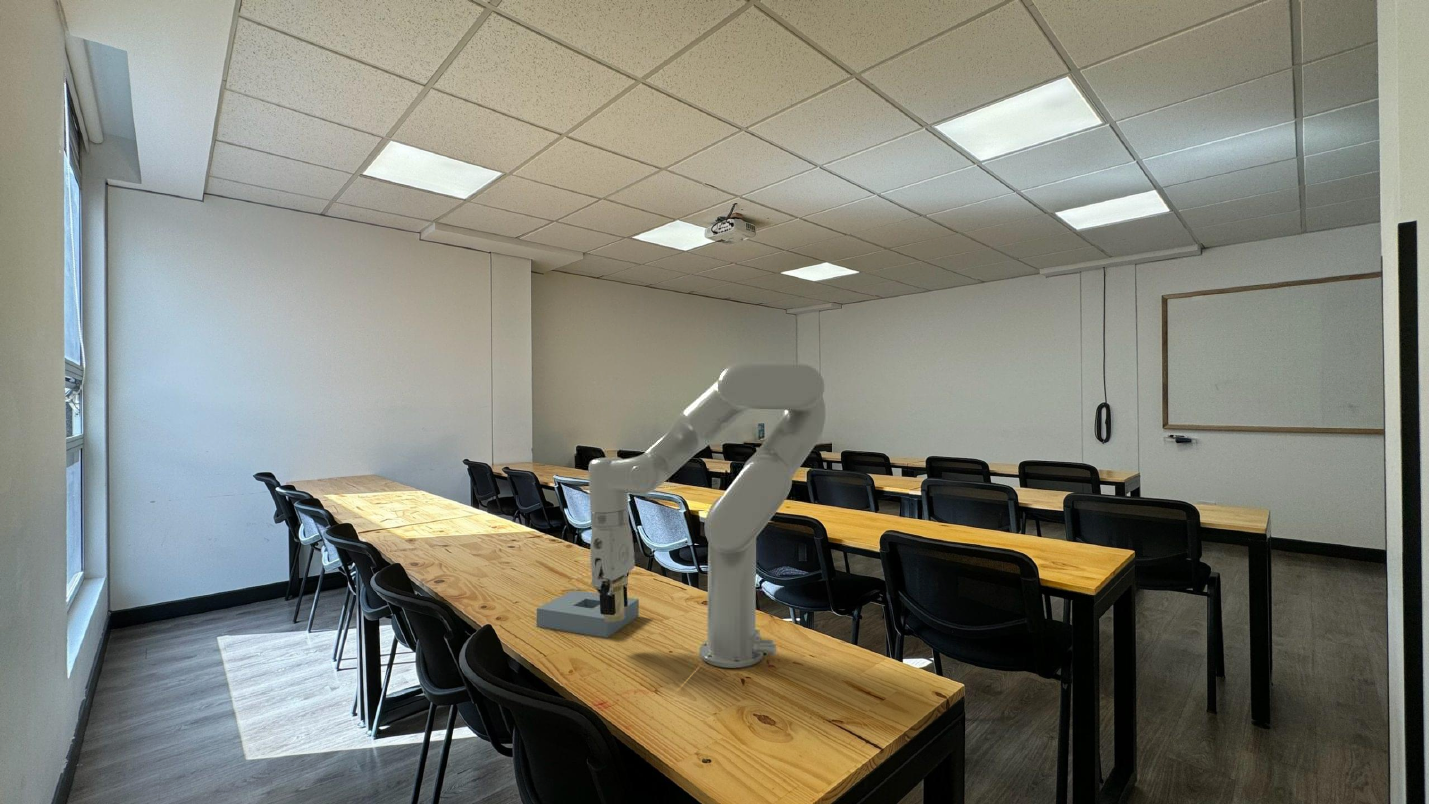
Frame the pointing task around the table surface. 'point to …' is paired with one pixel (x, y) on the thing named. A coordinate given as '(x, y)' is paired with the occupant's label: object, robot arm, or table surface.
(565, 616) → the jig
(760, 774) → the table surface
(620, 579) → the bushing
